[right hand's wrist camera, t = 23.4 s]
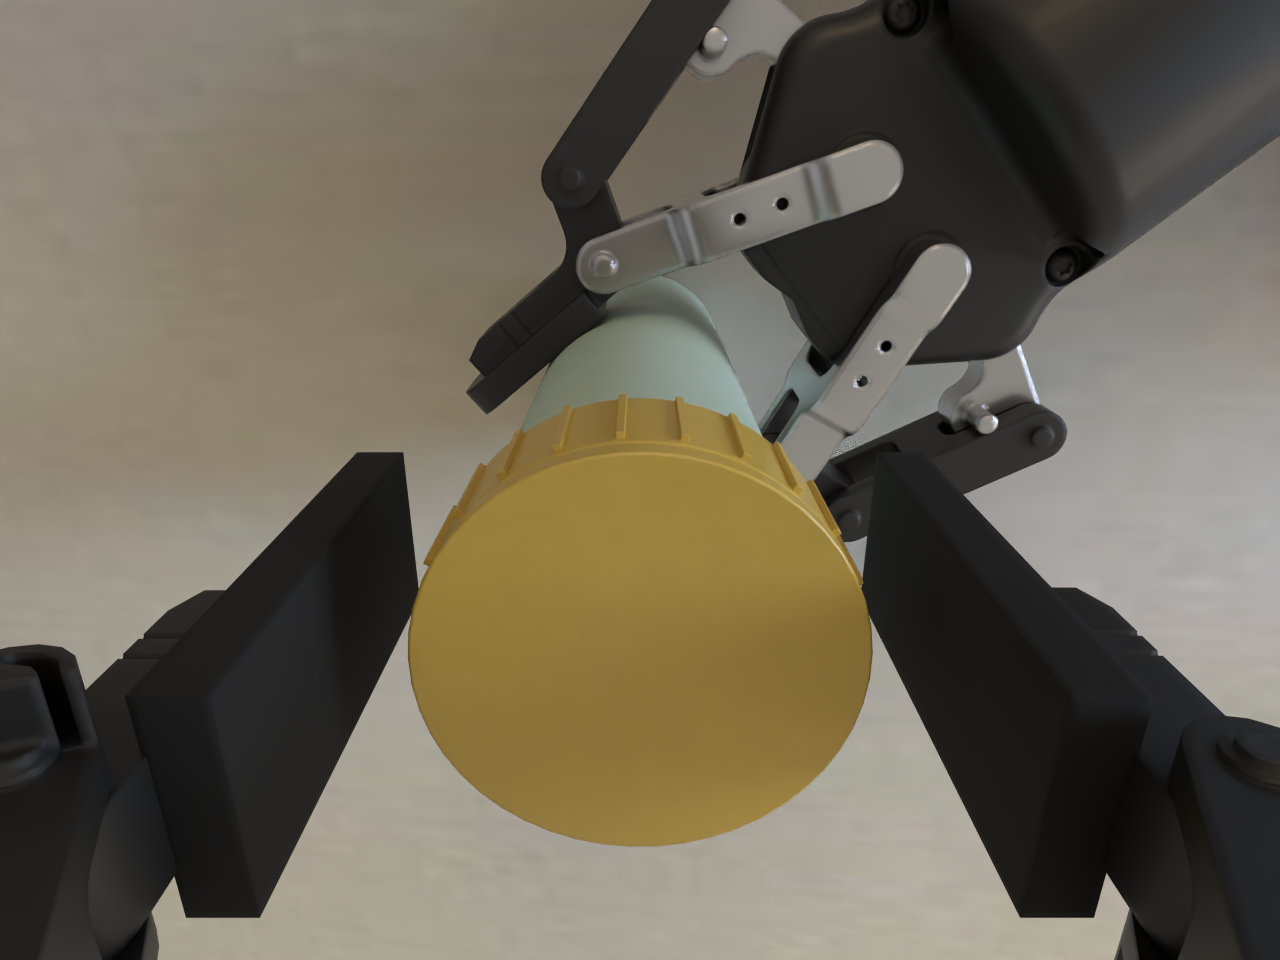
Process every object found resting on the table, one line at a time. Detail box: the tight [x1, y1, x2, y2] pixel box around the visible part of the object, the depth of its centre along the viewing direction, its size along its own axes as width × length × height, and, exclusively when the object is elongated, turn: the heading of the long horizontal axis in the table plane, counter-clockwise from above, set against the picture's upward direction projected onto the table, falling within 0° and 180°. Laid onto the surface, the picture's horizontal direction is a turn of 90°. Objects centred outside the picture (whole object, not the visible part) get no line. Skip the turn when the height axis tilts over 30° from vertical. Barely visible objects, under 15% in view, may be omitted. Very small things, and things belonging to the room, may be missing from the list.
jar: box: [521, 276, 762, 436], centre depth 19 cm, size 5×5×17 cm
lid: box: [408, 394, 873, 846], centre depth 11 cm, size 6×6×2 cm
